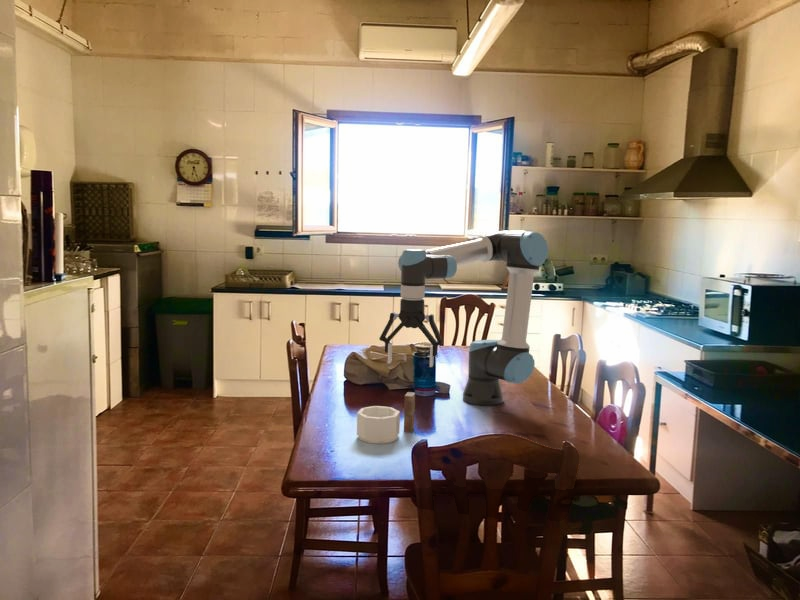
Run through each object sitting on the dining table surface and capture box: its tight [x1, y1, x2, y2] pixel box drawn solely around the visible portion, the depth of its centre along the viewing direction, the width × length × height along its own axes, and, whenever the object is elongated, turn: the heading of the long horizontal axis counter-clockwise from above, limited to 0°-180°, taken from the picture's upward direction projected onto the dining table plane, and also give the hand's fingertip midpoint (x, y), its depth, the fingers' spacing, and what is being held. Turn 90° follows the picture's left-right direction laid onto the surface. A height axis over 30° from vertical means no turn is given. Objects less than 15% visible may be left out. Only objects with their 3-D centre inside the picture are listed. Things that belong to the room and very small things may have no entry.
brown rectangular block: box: [403, 391, 416, 434], centre depth 210 cm, size 2×4×12 cm, turn 168°
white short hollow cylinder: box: [356, 405, 401, 445], centre depth 203 cm, size 12×12×8 cm
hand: (410, 364), depth 207 cm, fingers open, 13 cm apart
